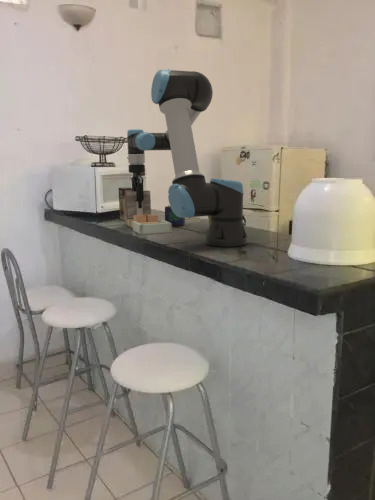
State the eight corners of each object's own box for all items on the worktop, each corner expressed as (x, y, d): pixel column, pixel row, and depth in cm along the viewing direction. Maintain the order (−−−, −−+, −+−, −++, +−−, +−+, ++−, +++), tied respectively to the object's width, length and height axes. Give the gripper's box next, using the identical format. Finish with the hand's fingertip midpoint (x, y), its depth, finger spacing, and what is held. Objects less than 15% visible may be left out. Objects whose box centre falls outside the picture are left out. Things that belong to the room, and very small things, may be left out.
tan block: (151, 216, 216) (150, 191, 214) (128, 218, 213) (127, 192, 210) (148, 215, 220) (147, 190, 218) (125, 217, 217) (124, 191, 214)
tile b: (146, 222, 203) (146, 215, 202) (136, 223, 201) (136, 216, 201) (143, 221, 207) (143, 214, 207) (133, 221, 206) (133, 215, 205)
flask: (185, 225, 214) (184, 202, 212) (184, 226, 211) (184, 202, 209) (165, 225, 214) (164, 202, 212) (164, 226, 211) (164, 203, 209)
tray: (171, 232, 194) (171, 223, 193) (140, 234, 189) (140, 225, 188) (163, 228, 205) (162, 219, 204) (133, 230, 200) (132, 221, 199)
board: (160, 228, 204) (160, 222, 203) (136, 230, 200) (135, 223, 200) (147, 222, 222) (147, 216, 222) (125, 224, 219) (125, 218, 218)
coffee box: (119, 219, 238) (118, 187, 235) (131, 218, 240) (130, 187, 237) (124, 221, 230) (123, 188, 226) (136, 220, 232) (135, 188, 229)
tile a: (157, 221, 205) (157, 215, 204) (147, 222, 203) (147, 215, 202) (154, 220, 209) (154, 213, 209) (144, 220, 208) (144, 214, 207)
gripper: (124, 164, 218) (126, 213, 223) (133, 164, 202) (135, 217, 207) (139, 163, 221) (141, 212, 226) (149, 164, 205) (151, 216, 210)
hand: (138, 214), depth 216 cm, fingers closed on tan block, 4 cm apart
